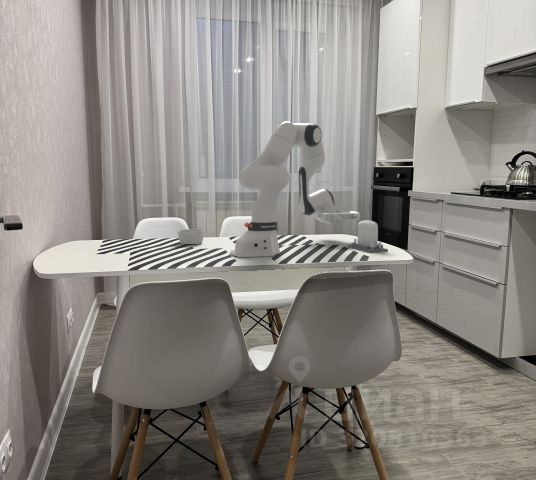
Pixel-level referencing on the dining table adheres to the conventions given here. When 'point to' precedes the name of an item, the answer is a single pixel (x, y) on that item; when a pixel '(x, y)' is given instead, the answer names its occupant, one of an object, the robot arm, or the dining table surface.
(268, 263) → the dining table surface
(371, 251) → the dock
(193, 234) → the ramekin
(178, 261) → the dining table surface
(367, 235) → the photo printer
